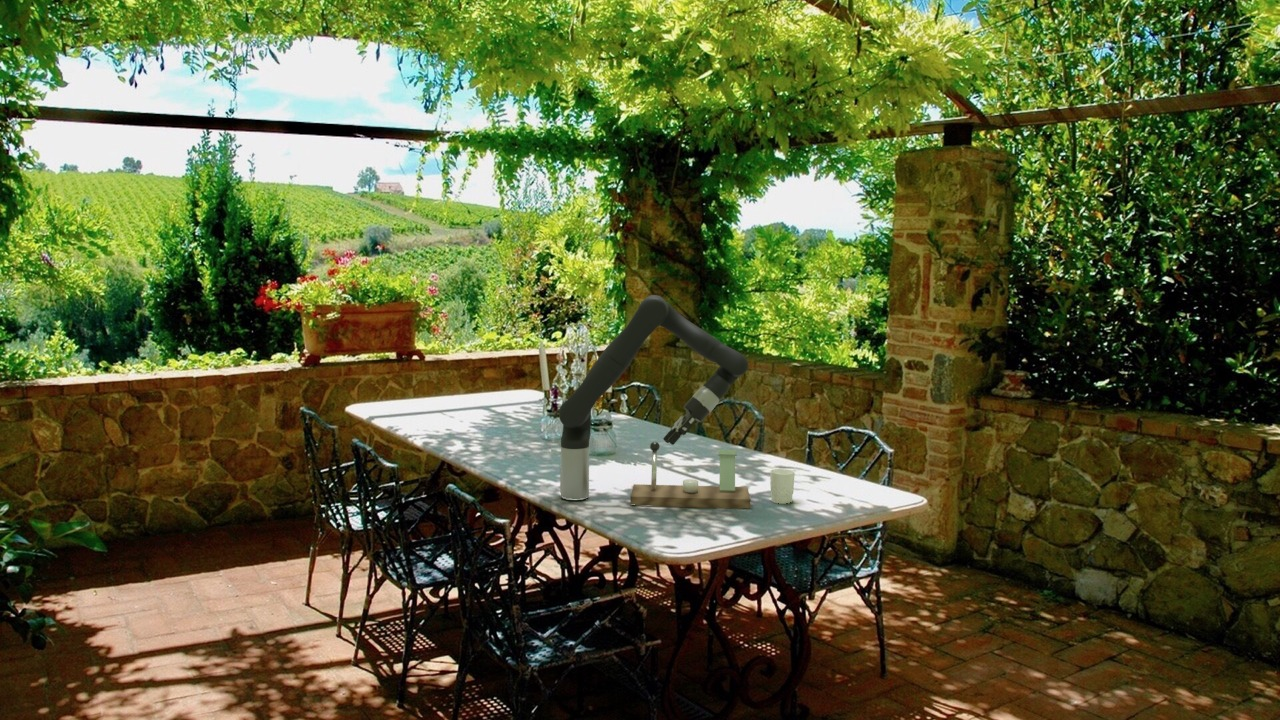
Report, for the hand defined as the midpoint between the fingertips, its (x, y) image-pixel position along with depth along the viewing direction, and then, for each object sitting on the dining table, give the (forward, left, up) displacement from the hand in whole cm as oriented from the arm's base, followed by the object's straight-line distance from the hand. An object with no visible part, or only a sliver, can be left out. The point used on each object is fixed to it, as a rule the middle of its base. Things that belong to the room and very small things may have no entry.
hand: (667, 442), depth 302 cm
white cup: (+12, +37, -22) cm, 45 cm away
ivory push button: (-4, +12, -18) cm, 22 cm away
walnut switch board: (-4, +12, -21) cm, 25 cm away
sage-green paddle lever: (+3, +22, -18) cm, 29 cm away
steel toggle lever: (-11, +2, -18) cm, 21 cm away
